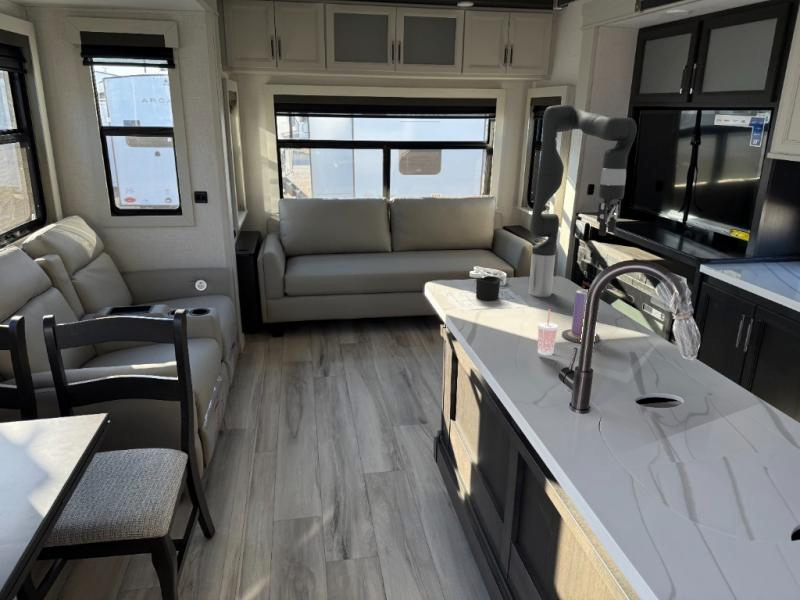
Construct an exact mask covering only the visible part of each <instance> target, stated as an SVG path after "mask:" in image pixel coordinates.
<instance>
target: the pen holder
mask: <svg viewBox="0 0 800 600" xmlns="http://www.w3.org/2000/svg"><path fill="white" fill-rule="evenodd" d="M475 279H476V281H475V282H476V287H475V288H476V290H475V298H476V299H477V300H479V301H483V302H496V301H497V300H499V295H500V285H501V278H498V277H494V276H486V277H483V278H482V277H480V278H475Z"/></svg>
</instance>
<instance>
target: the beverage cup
mask: <svg viewBox="0 0 800 600" xmlns="http://www.w3.org/2000/svg"><path fill="white" fill-rule="evenodd" d="M550 315H551V308H548V313H547V321H541V322H537V328H538V329H537V331H538V332H537V333H538V334H537V353H538V354H539V355H542V356H552V355H553V354H554V349H555V344H556V338H557V331H558V329H559V325H558V324H557V323H555V322H551V321H550V317H551V316H550Z"/></svg>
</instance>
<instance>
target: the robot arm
mask: <svg viewBox="0 0 800 600" xmlns="http://www.w3.org/2000/svg"><path fill="white" fill-rule="evenodd" d="M637 127H638V126H637V123H636V121H635V119H633V118H631V117H617V116H610V115H607V114H602V113H596V112H595V113H594V112H588V111H586V110H583V109H581V108H579V107H576V106H575V105H572V104H558V105H552V106H551V105H550V106H548V107H546V109H545V110H544V114H543V119H542V127H541V128H542V131H541V149H540V150H541V151H540V157H539V158H540V159H539V164H538V170H537V171H538V172H537V179H536V189H535V198H534V204H533V207H532V209H533V210H532V212H531V213H532V214H531V219H530V224H529V225H530V226H529V233H530V235H531V237H532V236H533V237H534V238H535V237H536V238H537V237H539V238H547V239H546V240H544V241H542V242H541V243H537V244H535V245H533V246H532V248H531V249H532V250H531V257H530V258H531V259H530V271H529V272H530V273H529V284H528V294H529V295H531V296H532V297H538V298H547V297H551V296H552V293H553V292H552V291H553V282H554V273H555V272H554V271H555V270H554V269H555V262H556V261H555V260H556V250H557V241H558V233H559V227H560V218H559V215H557V214H555V213H543V211H544V208H545V206H546V205H547V204H548V202H549V201H550V200H551V199H552V198H553V196H554V195H555V194H556V193H557V191H559V189H560V188H561V185H562V183H563V177H564V171H565V169H564V168H565V167H564V166H565V165H564V163H563V160H562V158H561V155H560V154H559V152H558V150H557V145H556V144H557V134H558V133H562V132H567V131H572V130H581V132H582V133H584V134H585V135H587V136H593V137H596V138H600V140H604V141H607V142H608V141H609V142H616V143H615V146H614V147H613V148H609V149H606V151H604V156H603V160H602V161H603V162H602V169H601V174H600V181H599V190H598V198H599V199H603V201H602V202H599V204H598V209H597V215H596V216H597V217H596V222H597V223H598V224H599V226H598V235H599V236H602V237H604V236H606V235H607V232H608V233H613V234H614V233H615V232H616V226H617V224H616V223H617V221H618V219H620V214H621V205H622V204H621V203H622V201H621V200H623V199H624V195H625V189H626V188H625V187H626V179H627V164H628V156H629V153H630V151H631V149H632V146H633V143H634V141H635V138H636V135H637V129H638V128H637Z"/></svg>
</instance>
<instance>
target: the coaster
mask: <svg viewBox="0 0 800 600" xmlns="http://www.w3.org/2000/svg"><path fill="white" fill-rule="evenodd" d="M571 330H572V328H571V329H566V330H563V331H562V333H561V337H562V338H563V339H565V341H569V342H572V343H578V344H581V343H580V340H581V337H577V336H574V335H573V334H572V332H571ZM600 337H601V336H600V335H599V334H598V333H596V336H595V343H599V342H600ZM595 343H594V344H595Z"/></svg>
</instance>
